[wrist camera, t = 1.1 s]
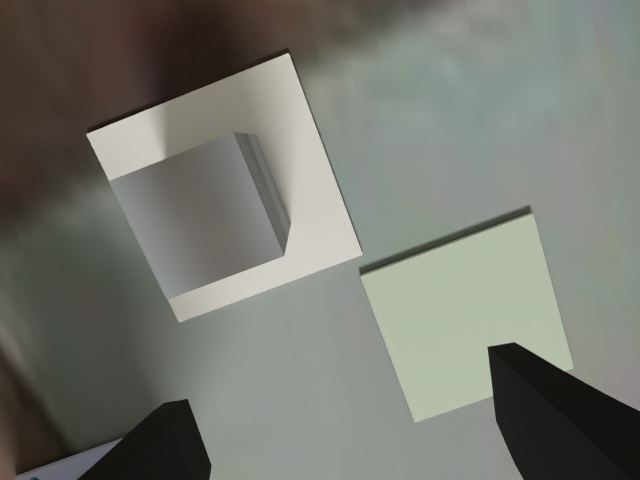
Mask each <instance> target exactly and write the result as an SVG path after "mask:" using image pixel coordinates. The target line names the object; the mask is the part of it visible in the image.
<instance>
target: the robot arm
mask: <svg viewBox="0 0 640 480" xmlns="http://www.w3.org/2000/svg"><path fill="white" fill-rule="evenodd" d="M487 348H488V356H489V365H490V373H491V381H492V390H493V398H494V406H495V415H496V421H497V424H498V426H499V428H500V431H501V433H502V436H503V438H504V440H505V443H506V445H507V447H508V449H509V452H510V454H511V456H512V458H513V461H514V463H515V465H516V467H517V468H518V470H519V472H520V474H521V475H522V477H523V479H524V480H640V411H638V410H636V409H634V408H632V407H630V406H628V405H626V404H624V403H622V402H620V401H618V400H616V399H614V398H612V397H610V396H608V395H606V394H604V393H603V392H601V391H599V390H597V389H595V388H593V387H591V386H590V385H588V384H586V383H584V382H582V381H581V380H579V379H577V378H575V377H574V376H572V375H570V374H568V373H567V372H565V371H563V370H561V369H560V368H558V367H556V366H555V365H553V364H551V363H550V362H548V361H546V360H544V359H543V358H541V357H539V356H538V355H536V354H534V353H533V352H531V351H529V350H528V349H526V348H524V347H522V346H521V345H519V344H517V343H515V342H512V343H507V344H501V345H495V346H489V347H487ZM210 472H211V463H210V460H209V457H208V455H207V452H206V449H205V446H204V443H203V441H202V438H201V435H200V432H199V429H198V427H197V424H196V421H195V418H194V415H193V413H192V410H191V407H190V404H189V401H188V399H184V400H179V401H173V402H167V403H163V404H162V405H161V406H159V407H158V408H157V409H156V410H154V411H153V412H152V413H151V414H150V415H149V416H147V417H146V418H145V419H144V420H143V421H142V422H141V423H139V424H138V425H137V426H136V427H135V428H134V429H133V430H132V431H131V432H129V433H128V434H127V435H126V436H125V437H123V438H121V439H118V440H115V441H112V442H109V443H107V444H104V445H101V446H98V447H95V448H92V449H90V450H87V451H84V452H81V453H78V454H76V455H73V456H70V457H67V458H64V459H61V460H59V461H56V462H53V463H50V464H47V465H45V466H42V467H39V468H36V469H33V470H30V471H28V472H25V473H22V474H19V475H17V476H15V478H14V479H13V480H209V478H210ZM36 477H37V478H38V479H37V478H36Z"/></svg>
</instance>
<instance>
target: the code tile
mask: <svg viewBox="0 0 640 480" xmlns="http://www.w3.org/2000/svg"><path fill="white" fill-rule="evenodd" d="M232 132H236V133H245V134H255V135H256V137H257V140H258V142H259V145H260V147H261V150H262V152H263V155H264V157H265V160H266V162H267V165H268V167H269V170H270V172H271V175H272V177H273V180H274V182H275V185H276V187H277V190H278V192H279V195H280V197H281V200H282V202H283V204H284V207H285V209H286V212H287V214H288V217H289V219H290V222H291V227H290V231H289V236H288V241H287V245H286V250H285V255H284V256H283V257H280V258H278V259H275V260H272V261H270V262H267V263H264V264H262V265H259V266H256V267H254V268H251V269H248V270H246V271H243V272H240V273H238V274H235V275H232V276H230V277H227V278H224V279H221V280H219V281H216V282H213V283H211V284H208V285H205V286H203V287H200V288H197V289H195V290H192V291H189V292H187V293H184V294H181V295H179V296H176V297H173V298H171V299H168V301H169V303H170V305H171V308H172V310H173V312H174V314H175V316H176V318H177V320H178V322H182V321H185V320H187V319H190V318H193V317H196V316H198V315H201V314H204V313H206V312H209V311H212V310H215V309H217V308H220V307H223V306H225V305H228V304H231V303H234V302H236V301H239V300H242V299H244V298H247V297H250V296H252V295H255V294H258V293H261V292H263V291H266V290H269V289H271V288H274V287H277V286H280V285H282V284H285V283H288V282H290V281H293V280H296V279H299V278H301V277H304V276H307V275H309V274H312V273H315V272H318V271H320V270H323V269H326V268H328V267H331V266H334V265H337V264H339V263H342V262H345V261H347V260H350V259H353V258H355V257H358V256H361V255H363V254H362V251H361V248H360V245H359V243H358V240H357V237H356V235H355V232H354V229H353V226H352V224H351V221H350V218H349V216H348V213H347V210H346V207H345V205H344V202H343V199H342V196H341V194H340V191H339V188H338V186H337V183H336V180H335V177H334V175H333V172H332V169H331V166H330V164H329V161H328V158H327V156H326V153H325V150H324V147H323V145H322V142H321V139H320V136H319V134H318V131H317V128H316V126H315V123H314V120H313V117H312V115H311V112H310V109H309V106H308V104H307V101H306V98H305V96H304V93H303V90H302V87H301V85H300V82H299V79H298V77H297V74H296V71H295V68H294V66H293V63H292V60H291V57H290V55H289V53H287V54H285V55H282V56H280V57H277V58H275V59H272V60H270V61H267V62H265V63H262V64H260V65H257V66H255V67H252V68H250V69H247V70H245V71H242V72H240V73H237V74H235V75H232V76H230V77H227V78H225V79H222V80H220V81H217V82H215V83H212V84H210V85H207V86H205V87H202V88H200V89H197V90H195V91H193V92H190V93H188V94H185V95H183V96H180V97H178V98H175V99H173V100H170V101H168V102H165V103H163V104H160V105H158V106H155V107H153V108H150V109H148V110H145V111H143V112H140V113H138V114H135V115H133V116H130V117H128V118H125V119H123V120H120V121H118V122H115V123H113V124H110V125H108V126H105V127H103V128H100V129H98V130H95V131H93V132H91V133H88V134H86V135H87V137H88V139H89V141H90V143H91V145H92V147H93V149H94V151H95V153H96V155H97V157H98V159H99V161H100V163H101V165H102V167H103V169H104V171H105V173H106V175H107V177H108V179H109V181H110V180H113V179H115V178H118V177H121V176H123V175H126V174H128V173H131V172H133V171H136V170H138V169H141V168H143V167H146V166H149V165H151V164H154V163H156V162H159V161H161V160H164V159H166V158H169V157H171V156H174V155H176V154H179V153H182V152H184V151H187V150H189V149H192V148H194V147H197V146H199V145H202V144H204V143H207V142H209V141H212V140H215V139H217V138H220V137H222V136H225V135H227V134H230V133H232Z"/></svg>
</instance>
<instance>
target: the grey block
mask: <svg viewBox="0 0 640 480" xmlns="http://www.w3.org/2000/svg"><path fill="white" fill-rule="evenodd" d="M108 182H109V184H110V186H111V188H112V190H113V192H114V194H115V196H116V198H117V200H118V202H119V204H120V206H121V208H122V210H123V212H124V214H125V216H126V218H127V220H128V222H129V224H130V226H131V228H132V230H133V232H134V234H135V236H136V238H137V241H138V243H139V245H140V247H141V249H142V251H143V253H144V255H145V257H146V259H147V261H148V263H149V265H150V267H151V269H152V271H153V273H154V275H155V277H156V279H157V281H158V283H159V285H160V287H161V289H162V291H163V293H164V295H165V297H166V299H167V300H168V299H171V298H173V297H176V296H179V295H181V294H184V293H187V292H189V291H192V290H195V289H197V288H200V287H203V286H205V285H208V284H211V283H213V282H216V281H219V280H221V279H224V278H227V277H230V276H232V275H235V274H238V273H240V272H243V271H246V270H248V269H251V268H254V267H256V266H259V265H262V264H264V263H267V262H270V261H272V260H275V259H278V258H280V257H283V256H284V255H285V250H286V245H287V241H288V236H289V231H290V227H291V222H290V219H289V217H288V214H287V212H286V209H285V207H284V204H283V202H282V200H281V197H280V195H279V192H278V190H277V187H276V185H275V182H274V180H273V177H272V175H271V172H270V170H269V167H268V165H267V162H266V160H265V157H264V155H263V152H262V150H261V147H260V145H259V142H258V140H257V137H256V135H255V134H245V133H236V132H232V133H230V134H227V135H225V136H222V137H220V138H217V139H215V140H212V141H209V142H207V143H204V144H202V145H199V146H197V147H194V148H192V149H189V150H187V151H184V152H182V153H179V154H176V155H174V156H171V157H169V158H166V159H164V160H161V161H159V162H156V163H154V164H151V165H149V166H146V167H143V168H141V169H138V170H136V171H133V172H131V173H128V174H126V175H123V176H121V177H118V178H115V179H113V180H110V181H108Z"/></svg>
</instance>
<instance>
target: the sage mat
mask: <svg viewBox="0 0 640 480" xmlns="http://www.w3.org/2000/svg"><path fill="white" fill-rule="evenodd" d="M360 277H361V280H362V282H363V285H364V288H365V291H366V293H367V296H368V299H369V301H370V304H371V307H372V309H373V312H374V315H375V317H376V320H377V323H378V325H379V328H380V331H381V333H382V336H383V339H384V341H385V344H386V347H387V349H388V352H389V355H390V358H391V360H392V363H393V366H394V368H395V371H396V374H397V376H398V379H399V382H400V384H401V387H402V390H403V392H404V395H405V398H406V400H407V403H408V406H409V408H410V411H411V414H412V416H413V419H414V422H415V423H416V422H419V421H422V420H424V419H427V418H430V417H433V416H436V415H439V414H442V413H445V412H448V411H451V410H454V409H457V408H460V407H462V406H465V405H468V404H471V403H474V402H477V401H480V400H483V399H486V398H489V397H492V396H493V390H492V381H491V373H490V365H489V356H488V348H487V347H489V346H495V345H501V344H507V343H512V342H515V343H517V344H519V345H521V346H522V347H524V348H526V349H528V350H529V351H531V352H533V353H534V354H536V355H538V356H539V357H541V358H543V359H544V360H546V361H548V362H550V363H551V364H553V365H555V366H556V367H558V368H560V369H561V370H563V371H568V370H570V369H573V368H574V367H573V363H572V359H571V355H570V351H569V348H568V344H567V340H566V336H565V332H564V328H563V325H562V321H561V317H560V313H559V309H558V306H557V302H556V298H555V294H554V290H553V287H552V283H551V279H550V275H549V271H548V268H547V264H546V260H545V256H544V252H543V249H542V245H541V241H540V237H539V233H538V230H537V226H536V222H535V218H534V214H533V213H527V214H525V215H522V216H519V217H516V218H514V219H511V220H508V221H505V222H503V223H500V224H497V225H494V226H492V227H489V228H486V229H484V230H481V231H478V232H475V233H473V234H470V235H467V236H464V237H462V238H459V239H456V240H454V241H451V242H448V243H445V244H443V245H440V246H437V247H434V248H432V249H429V250H426V251H423V252H421V253H418V254H415V255H413V256H410V257H407V258H404V259H402V260H399V261H396V262H393V263H391V264H388V265H385V266H383V267H380V268H377V269H374V270H372V271H369V272H366V273H363V274H361V275H360Z"/></svg>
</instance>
